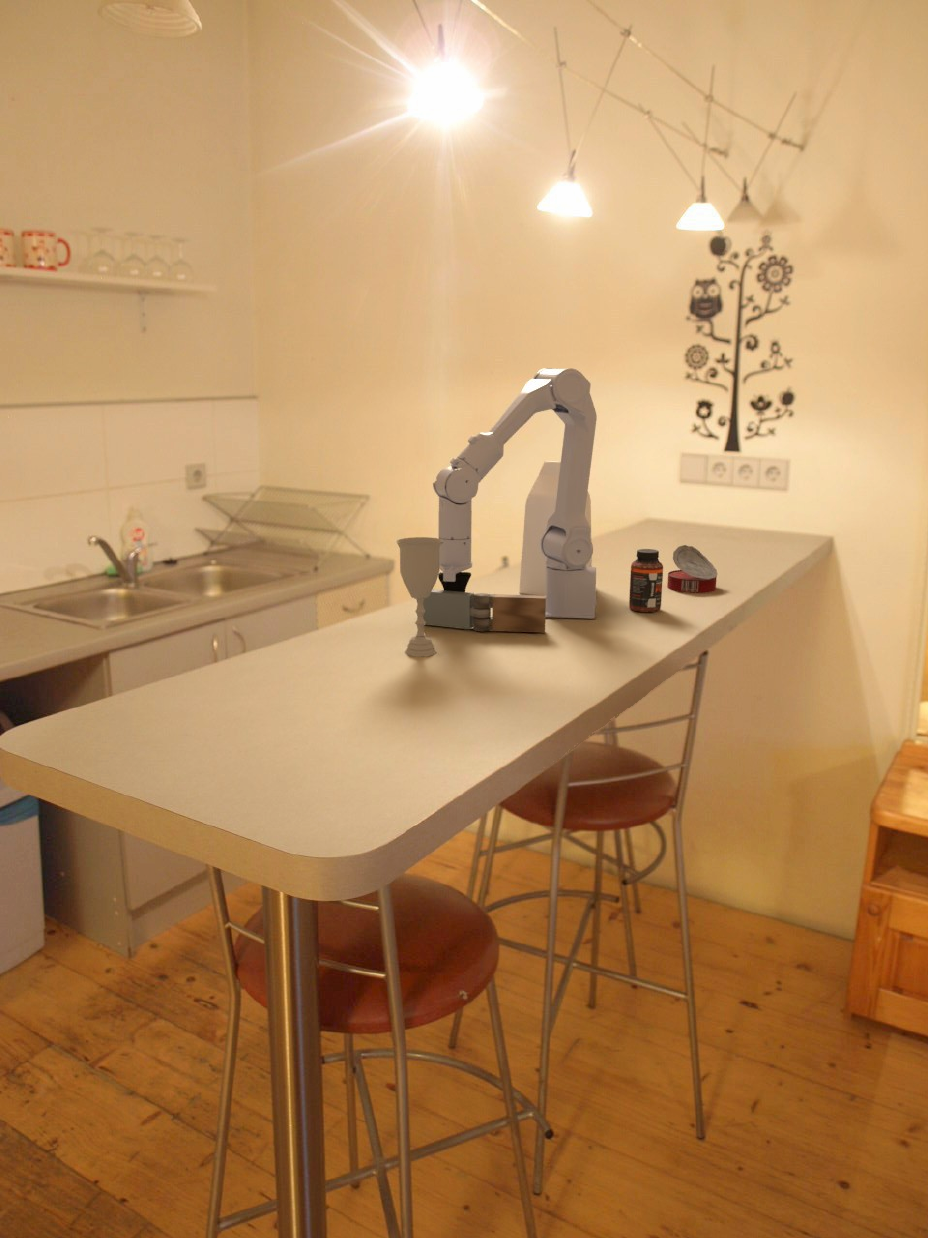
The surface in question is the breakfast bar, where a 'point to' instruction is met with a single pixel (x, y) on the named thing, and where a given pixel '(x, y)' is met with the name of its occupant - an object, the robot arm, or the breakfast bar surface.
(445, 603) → the swing leaf
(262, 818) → the breakfast bar surface
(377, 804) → the breakfast bar surface
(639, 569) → the supplement bottle
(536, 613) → the fixed leaf
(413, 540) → the chalice
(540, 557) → the milk
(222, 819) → the breakfast bar surface
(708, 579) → the canned food
